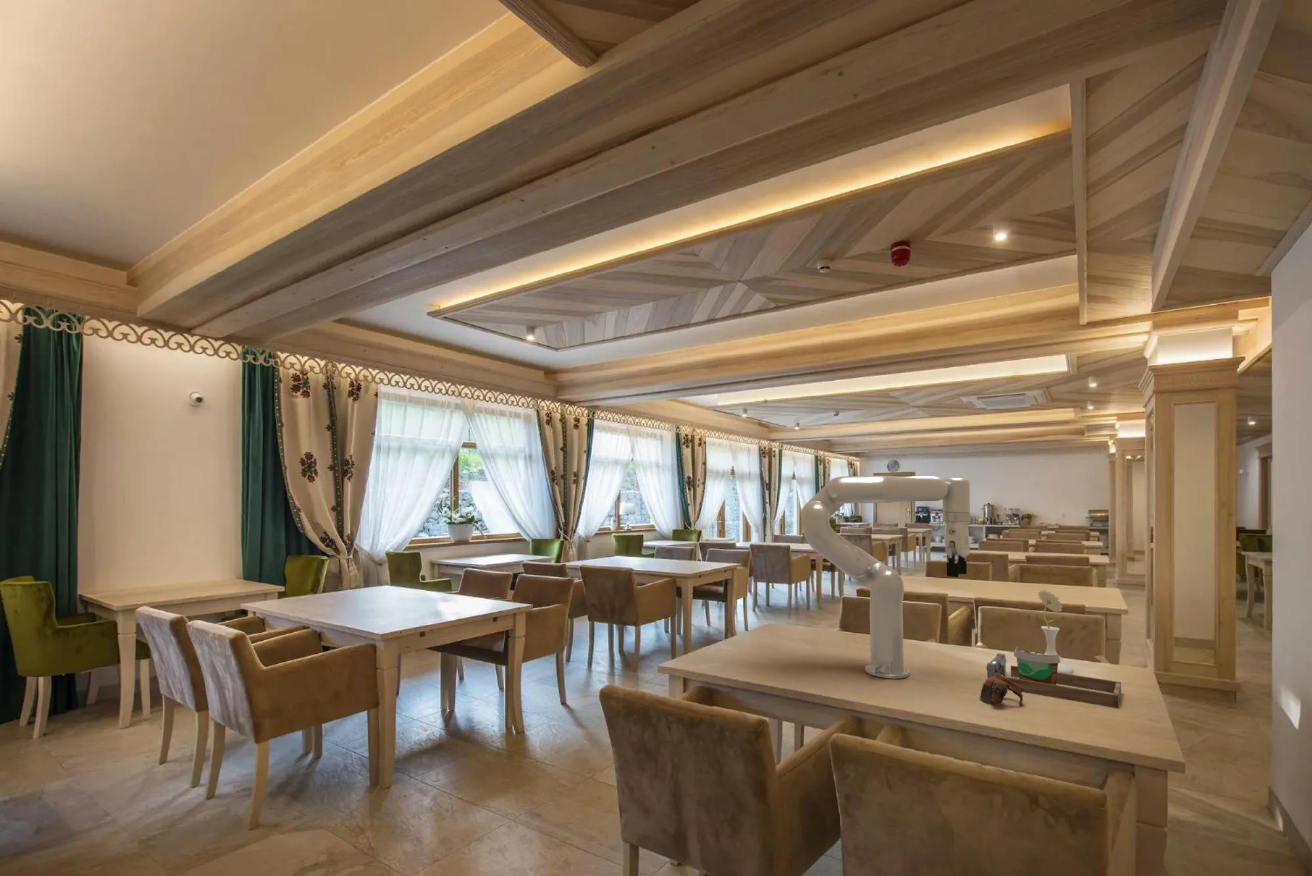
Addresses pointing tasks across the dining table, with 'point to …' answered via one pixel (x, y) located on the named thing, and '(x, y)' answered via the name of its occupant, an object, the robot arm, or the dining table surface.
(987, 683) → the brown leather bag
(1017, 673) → the long wooden tray
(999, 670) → the grey arched handle
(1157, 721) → the dining table surface
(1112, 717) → the dining table surface
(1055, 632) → the flower in vase
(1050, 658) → the food container
